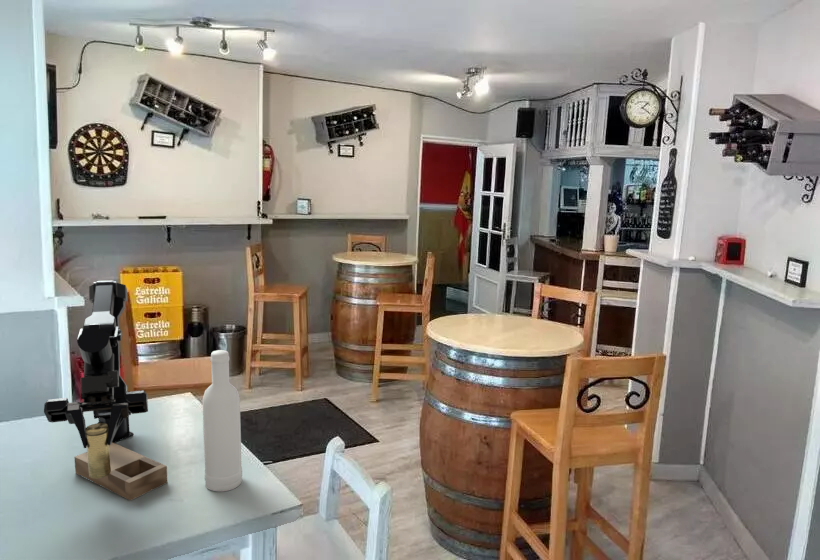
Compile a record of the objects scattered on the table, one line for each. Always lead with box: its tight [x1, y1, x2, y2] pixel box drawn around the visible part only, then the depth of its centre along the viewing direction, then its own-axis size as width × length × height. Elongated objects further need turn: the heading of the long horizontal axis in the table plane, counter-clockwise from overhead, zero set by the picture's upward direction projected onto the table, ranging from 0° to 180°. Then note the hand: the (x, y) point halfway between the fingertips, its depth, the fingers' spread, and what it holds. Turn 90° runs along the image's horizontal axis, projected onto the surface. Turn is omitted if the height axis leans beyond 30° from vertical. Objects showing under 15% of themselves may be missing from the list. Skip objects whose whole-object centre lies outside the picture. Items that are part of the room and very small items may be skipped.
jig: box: [73, 442, 168, 501], centre depth 139 cm, size 9×20×4 cm, turn 58°
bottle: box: [201, 349, 243, 492], centre depth 136 cm, size 8×8×30 cm
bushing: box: [85, 422, 111, 478], centre depth 127 cm, size 4×4×10 cm
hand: (97, 446), depth 125 cm, fingers closed on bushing, 4 cm apart
